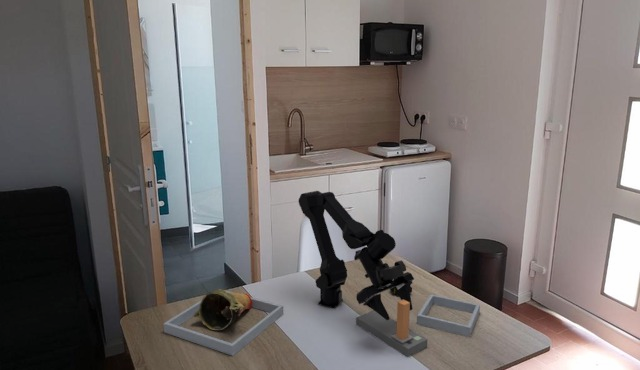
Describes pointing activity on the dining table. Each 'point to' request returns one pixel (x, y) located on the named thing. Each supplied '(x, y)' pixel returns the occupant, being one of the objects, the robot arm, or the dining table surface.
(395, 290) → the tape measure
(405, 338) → the handle
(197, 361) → the dining table surface
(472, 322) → the tray
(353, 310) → the dining table surface
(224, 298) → the pot
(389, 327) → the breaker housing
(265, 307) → the tray
